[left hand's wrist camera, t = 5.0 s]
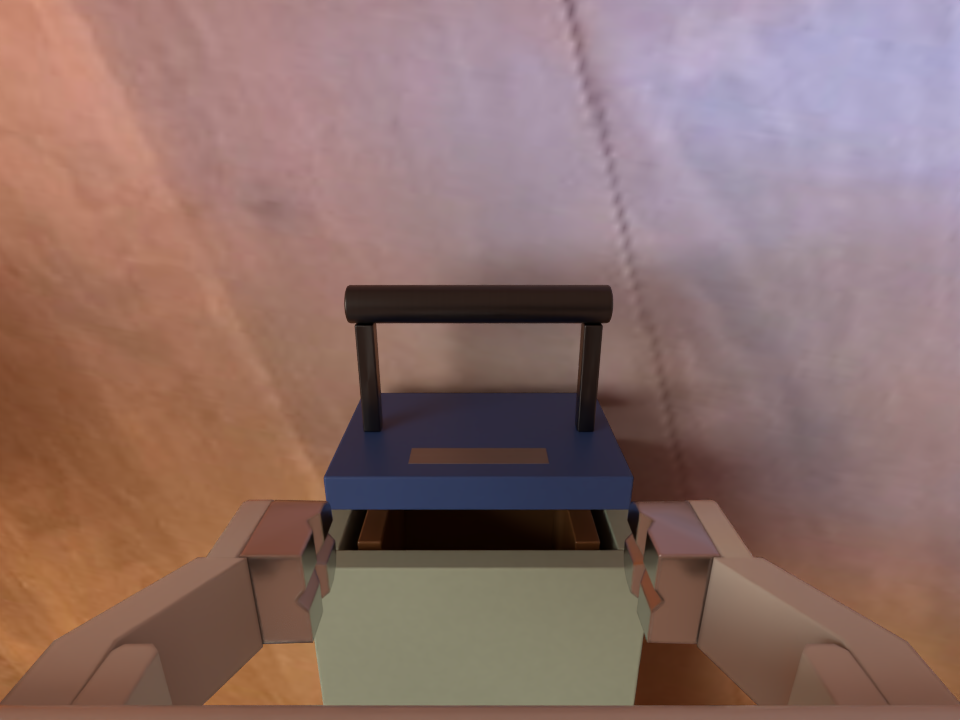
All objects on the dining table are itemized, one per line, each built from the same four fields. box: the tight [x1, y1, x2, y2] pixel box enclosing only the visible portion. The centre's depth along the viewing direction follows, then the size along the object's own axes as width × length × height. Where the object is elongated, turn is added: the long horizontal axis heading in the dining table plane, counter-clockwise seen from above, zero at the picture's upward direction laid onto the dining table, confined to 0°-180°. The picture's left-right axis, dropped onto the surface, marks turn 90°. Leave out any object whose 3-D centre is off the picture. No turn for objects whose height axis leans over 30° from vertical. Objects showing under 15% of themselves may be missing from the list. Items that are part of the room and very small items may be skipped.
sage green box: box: [314, 509, 644, 705], centre depth 24 cm, size 20×11×8 cm, turn 0°
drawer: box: [324, 285, 634, 550], centre depth 22 cm, size 23×9×6 cm, turn 0°
